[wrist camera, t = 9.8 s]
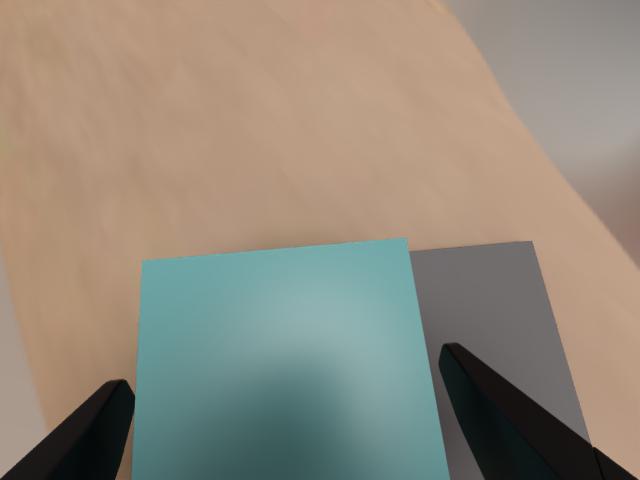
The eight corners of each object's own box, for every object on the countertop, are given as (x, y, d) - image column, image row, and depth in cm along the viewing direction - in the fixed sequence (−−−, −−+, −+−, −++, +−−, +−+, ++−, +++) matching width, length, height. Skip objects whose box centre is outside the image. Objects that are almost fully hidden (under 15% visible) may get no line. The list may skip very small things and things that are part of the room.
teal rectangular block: (374, 422, 16) (462, 549, 7) (229, 441, 15) (125, 605, 6) (356, 279, 17) (406, 237, 9) (226, 291, 17) (142, 260, 8)
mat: (591, 468, 15) (599, 472, 15) (401, 496, 15) (403, 501, 14) (527, 242, 19) (531, 240, 18) (366, 256, 18) (368, 255, 17)
